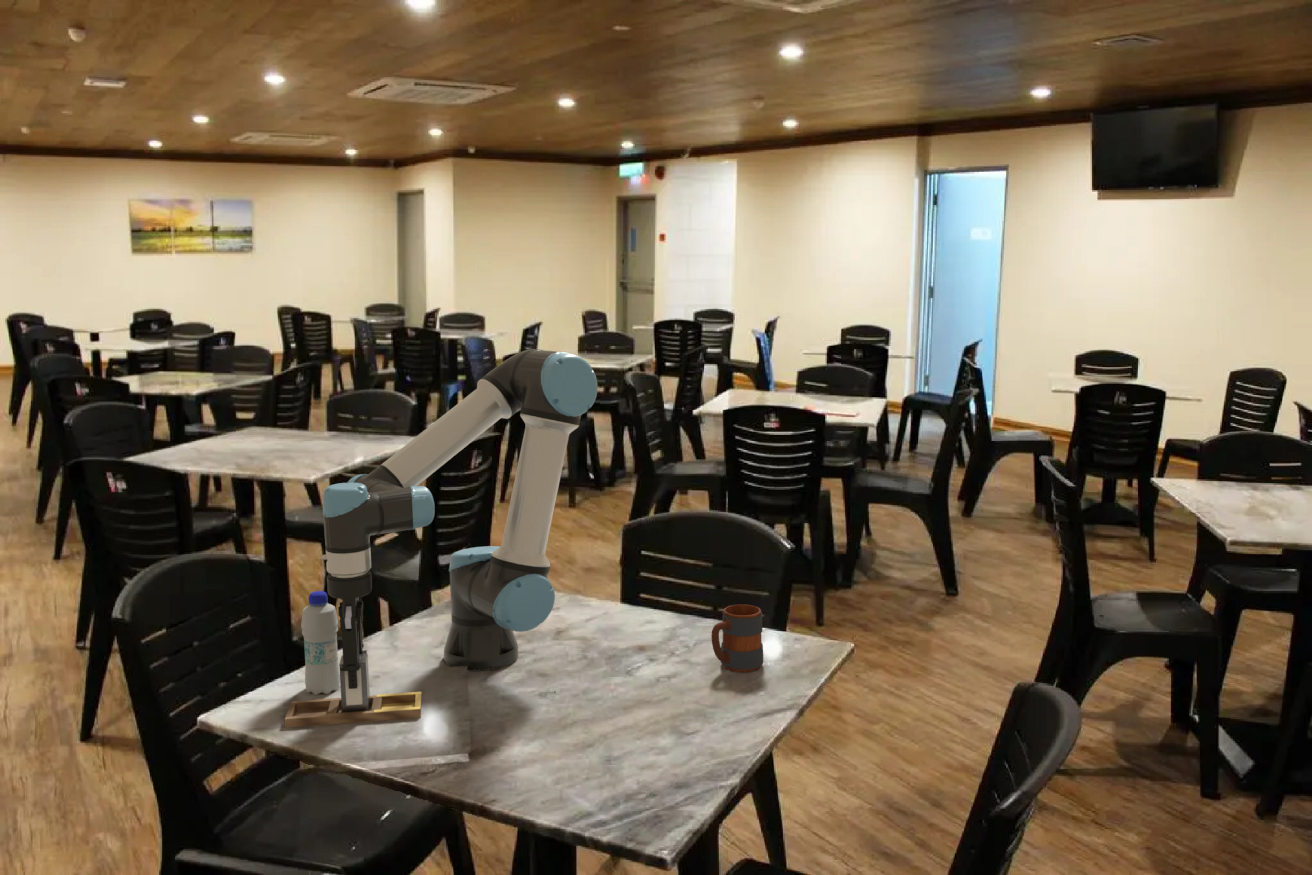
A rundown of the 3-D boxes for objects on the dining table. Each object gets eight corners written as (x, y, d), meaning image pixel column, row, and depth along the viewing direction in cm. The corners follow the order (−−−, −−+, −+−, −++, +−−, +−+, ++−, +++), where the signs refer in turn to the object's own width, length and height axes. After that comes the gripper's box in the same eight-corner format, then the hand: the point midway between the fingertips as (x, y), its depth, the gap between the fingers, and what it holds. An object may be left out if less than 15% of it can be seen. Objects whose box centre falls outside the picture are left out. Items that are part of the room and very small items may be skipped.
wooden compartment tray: (421, 704, 204) (421, 691, 203) (420, 722, 196) (420, 708, 196) (291, 714, 200) (291, 700, 199) (285, 732, 192) (284, 718, 191)
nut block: (370, 706, 200) (367, 653, 199) (368, 716, 196) (365, 662, 194) (344, 708, 200) (341, 654, 198) (342, 718, 195) (339, 663, 193)
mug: (698, 667, 222) (698, 611, 220) (744, 655, 229) (744, 600, 227) (726, 680, 215) (726, 623, 213) (772, 667, 222) (772, 611, 220)
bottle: (331, 701, 205) (325, 597, 202) (298, 698, 207) (292, 595, 203) (348, 687, 212) (343, 587, 209) (315, 685, 213) (310, 585, 210)
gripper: (331, 559, 201) (338, 681, 205) (321, 587, 184) (328, 719, 188) (374, 557, 203) (380, 678, 206) (367, 585, 186) (374, 716, 189)
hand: (355, 697), depth 197 cm, fingers closed on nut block, 4 cm apart
